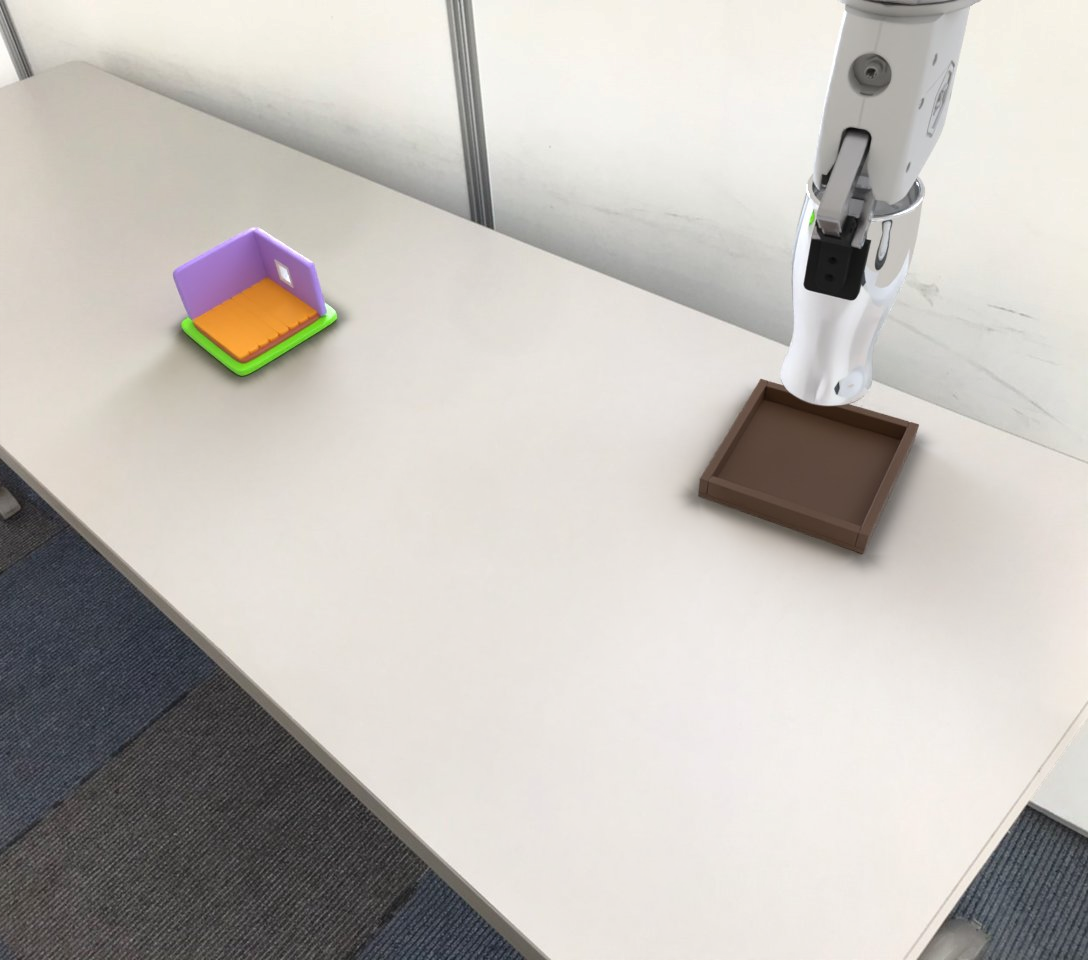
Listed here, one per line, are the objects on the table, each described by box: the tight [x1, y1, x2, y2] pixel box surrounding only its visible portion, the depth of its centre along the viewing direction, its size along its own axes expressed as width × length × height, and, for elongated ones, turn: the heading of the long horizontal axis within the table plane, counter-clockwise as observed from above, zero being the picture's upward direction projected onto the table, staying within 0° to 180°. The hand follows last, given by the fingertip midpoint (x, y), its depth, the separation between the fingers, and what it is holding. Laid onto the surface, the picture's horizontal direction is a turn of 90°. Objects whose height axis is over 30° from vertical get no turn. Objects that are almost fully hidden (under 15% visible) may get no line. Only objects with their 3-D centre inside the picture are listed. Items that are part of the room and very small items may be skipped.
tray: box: [697, 378, 920, 555], centre depth 74 cm, size 12×12×2 cm
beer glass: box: [779, 173, 926, 407], centre depth 63 cm, size 7×7×15 cm
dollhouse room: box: [172, 227, 338, 377], centre depth 94 cm, size 12×12×7 cm
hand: (851, 256), depth 61 cm, fingers closed on beer glass, 7 cm apart
